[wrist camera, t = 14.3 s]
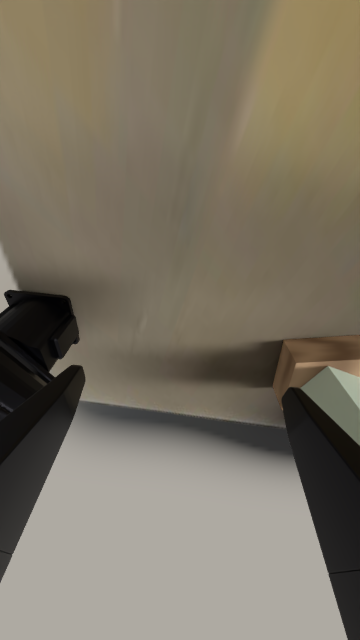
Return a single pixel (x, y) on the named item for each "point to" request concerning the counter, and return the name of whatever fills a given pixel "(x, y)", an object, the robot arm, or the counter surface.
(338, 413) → the sage block
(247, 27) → the counter surface
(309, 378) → the tan block
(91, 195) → the counter surface
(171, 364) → the counter surface
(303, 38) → the counter surface
